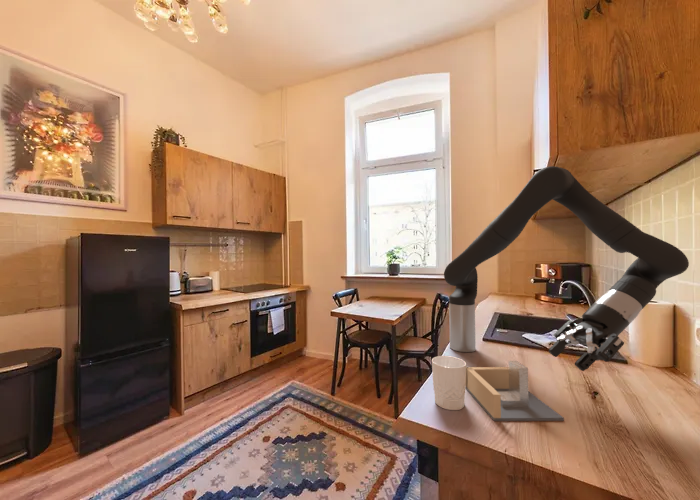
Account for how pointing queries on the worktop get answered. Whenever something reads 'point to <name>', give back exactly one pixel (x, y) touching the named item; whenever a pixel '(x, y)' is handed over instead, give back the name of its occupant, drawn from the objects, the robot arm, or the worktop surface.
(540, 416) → the corner tray
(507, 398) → the bracket
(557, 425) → the worktop surface
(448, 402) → the white cup
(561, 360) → the worktop surface
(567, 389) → the worktop surface
